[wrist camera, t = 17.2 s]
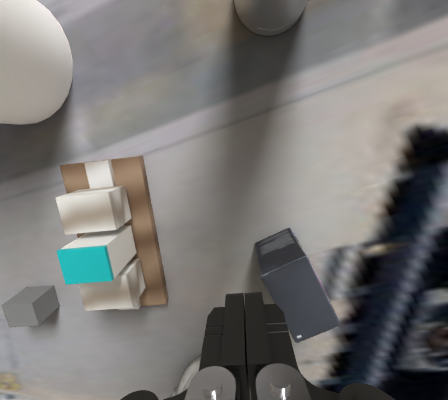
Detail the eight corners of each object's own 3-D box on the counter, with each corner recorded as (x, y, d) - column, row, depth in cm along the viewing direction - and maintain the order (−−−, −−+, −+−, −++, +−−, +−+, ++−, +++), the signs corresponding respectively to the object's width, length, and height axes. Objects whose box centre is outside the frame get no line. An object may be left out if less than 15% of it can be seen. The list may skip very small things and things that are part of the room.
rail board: (66, 164, 40) (28, 170, 33) (142, 155, 39) (121, 160, 32) (100, 303, 45) (74, 334, 38) (168, 298, 44) (155, 329, 37)
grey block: (26, 287, 45) (1, 305, 40) (54, 285, 45) (31, 303, 40) (33, 307, 46) (9, 327, 41) (59, 305, 46) (38, 325, 41)
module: (92, 228, 39) (56, 251, 32) (130, 225, 39) (103, 247, 31) (99, 256, 40) (65, 284, 33) (136, 253, 40) (111, 281, 32)
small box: (318, 281, 42) (344, 327, 32) (281, 296, 43) (294, 346, 33) (291, 225, 40) (309, 255, 30) (253, 243, 41) (257, 278, 31)
